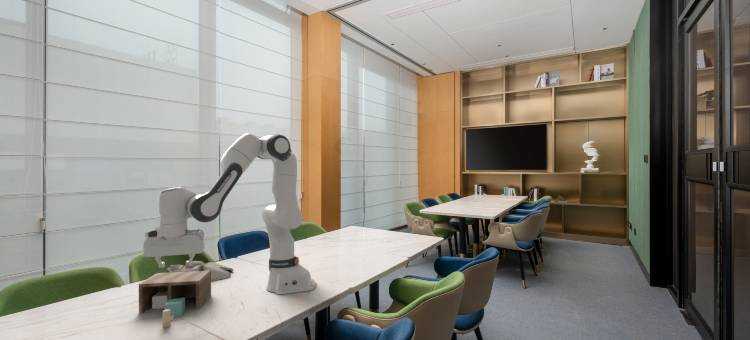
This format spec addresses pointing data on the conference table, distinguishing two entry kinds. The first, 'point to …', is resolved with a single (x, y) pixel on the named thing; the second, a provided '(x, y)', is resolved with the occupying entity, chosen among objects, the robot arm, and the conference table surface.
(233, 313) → the conference table surface
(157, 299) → the plain block
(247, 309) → the conference table surface
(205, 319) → the conference table surface
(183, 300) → the tethered block
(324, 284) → the conference table surface
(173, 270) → the mask
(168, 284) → the walnut shelf
